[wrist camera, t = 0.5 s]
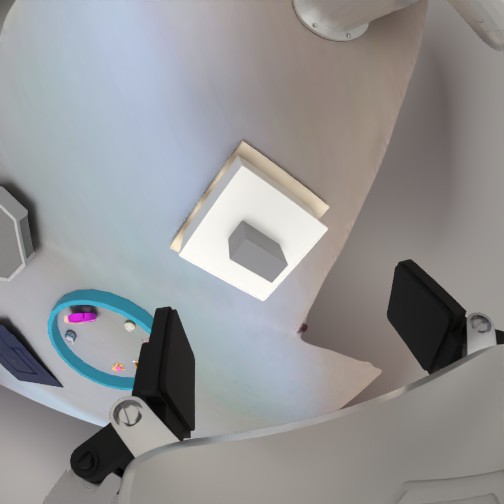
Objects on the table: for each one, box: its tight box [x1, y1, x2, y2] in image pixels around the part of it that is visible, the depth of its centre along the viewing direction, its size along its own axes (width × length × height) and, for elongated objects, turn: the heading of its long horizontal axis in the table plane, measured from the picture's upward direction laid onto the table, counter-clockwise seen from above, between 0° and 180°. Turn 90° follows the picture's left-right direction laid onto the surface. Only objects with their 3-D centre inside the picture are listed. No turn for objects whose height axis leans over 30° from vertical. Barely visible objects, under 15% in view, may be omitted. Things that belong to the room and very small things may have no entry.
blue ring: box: [48, 289, 154, 390], centre depth 53 cm, size 30×30×6 cm
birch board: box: [170, 140, 329, 253], centre depth 44 cm, size 20×17×2 cm
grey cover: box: [179, 155, 328, 301], centre depth 37 cm, size 14×14×13 cm
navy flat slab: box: [0, 325, 62, 387], centre depth 55 cm, size 24×30×4 cm
